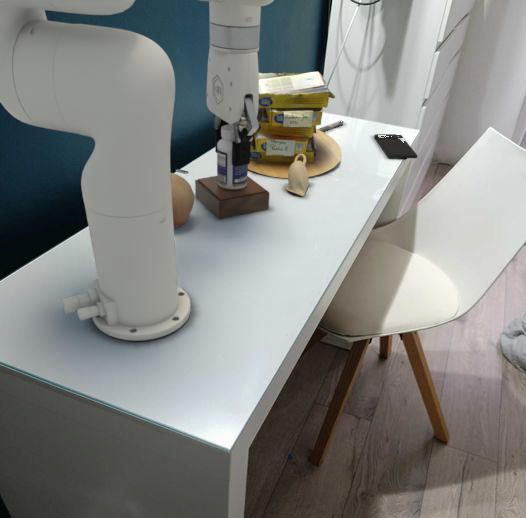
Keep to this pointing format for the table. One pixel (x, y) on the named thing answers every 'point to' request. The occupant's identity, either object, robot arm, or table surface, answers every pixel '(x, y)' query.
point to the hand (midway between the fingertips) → (232, 157)
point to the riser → (231, 197)
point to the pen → (330, 126)
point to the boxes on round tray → (292, 125)
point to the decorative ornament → (298, 177)
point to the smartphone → (395, 146)
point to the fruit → (181, 199)
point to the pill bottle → (229, 162)
